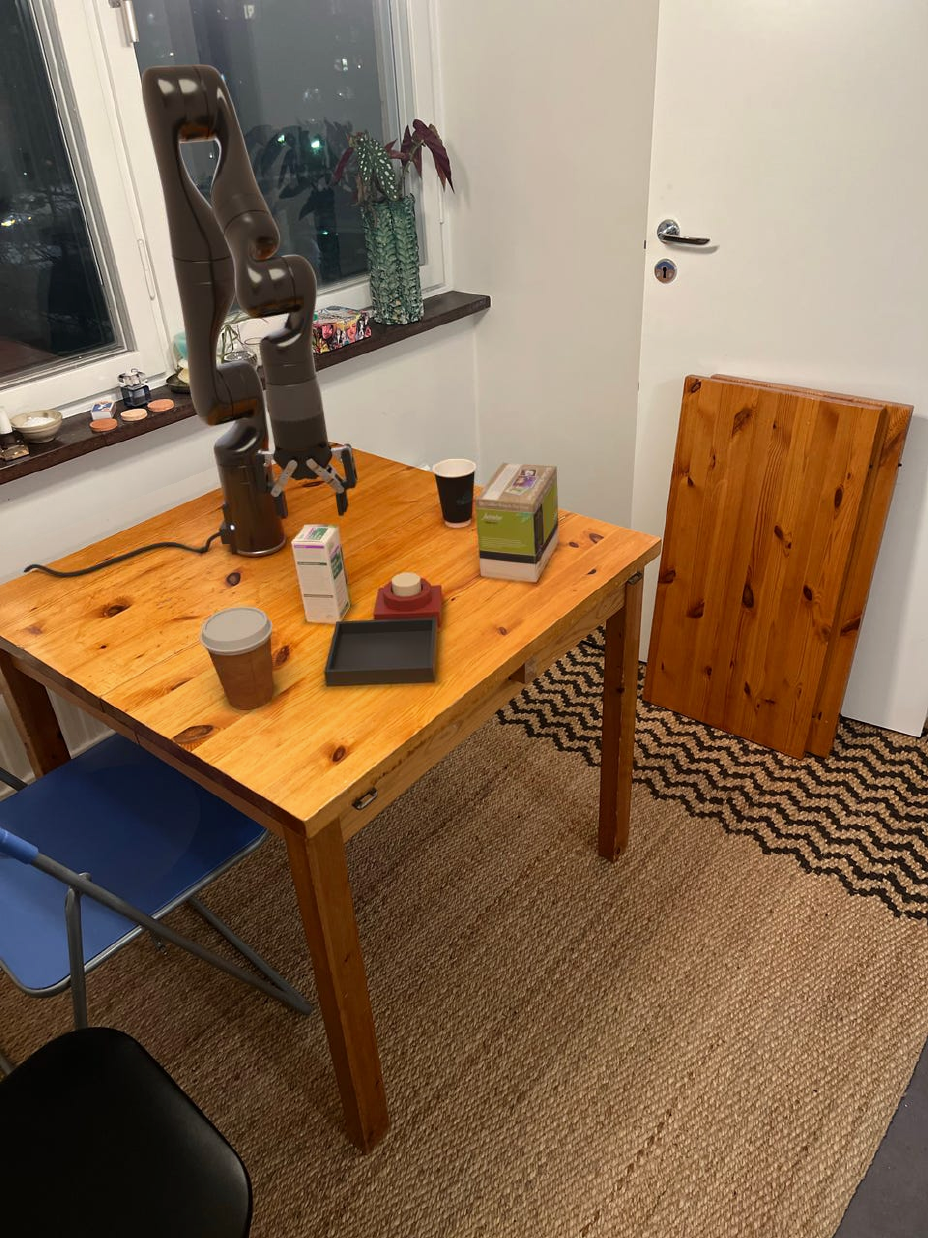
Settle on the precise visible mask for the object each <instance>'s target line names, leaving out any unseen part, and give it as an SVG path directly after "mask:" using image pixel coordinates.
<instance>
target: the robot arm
mask: <svg viewBox="0 0 928 1238" xmlns="http://www.w3.org/2000/svg"><path fill="white" fill-rule="evenodd" d="M141 96H142V103H143V108H144V114H145V118H146V124H147V128H148V133H149V137H150V142H151V147H152V151H153V155H154V159H155V164H156V168H157V172H158V177H159V181H160V182H159V183H160V186H161V191H162V197H163V198H162V199H163V202H164V203H163V204H164V210H165V216H166V222H167V231H168V237H169V245H170V253H171V259H172V266H173V272H174V277H175V281H176V282H175V283H176V288H177V293H178V297H179V302H180V303H179V304H180V309H181V314H182V321H183V327H184V335H185V336H184V337H185V343H186V344H185V345H186V347H185V348H186V358H187V359H186V360H187V371H188V382H189V383H188V384H189V389H190V396H191V400H192V404H193V407H194V410H195V412H196V415H197V416H198V418H199V420H200V421H201V422H202V423H203V424H204V425H207V426H209V427H217V426H221V425H224V424H228V423H232V422H234V423H233V424H232V426H231V427H230V429H229V430H228V431H227V432H226V433H225V434H223V435H222V436H221V437H219V438H218V439H217V440H216V442H214V444H213V455H214V458H215V463H216V468H217V473H218V478H219V482H220V487H221V491H222V497H223V503H222V504H221V509H222V514H223V521H222V522H221V524H220V526H219V528H218V532H216V533H214V534H212V535H210V537H208V539H207V540H206V542H205V546H204V547H201V548H198V549H197V548H192V547H190V546H187V545H183V544H181V543H179V542H173V541H164V542H162V541H161V542H156V543H153V544H149V545H145V546H143V547H140V548H138V549H135V550H133V551H129V552H128V553H125V554H122V555H119V556H116V557H113V558H110V559H107V560H105V561H102V562H100V563H97V564H94V565H92V566H89V567H86V568H83V569H79V570H75V571H69V572H67V571H66V572H65V571H58V570H54V569H51V568H50V567H47V566H44V565H41V564H38V563H32V564H29V565H28V566H26V568H24V570H23V573H26V574H27V573H29V572H30V571H31V570H33V569H38V570H41V571H44V572H46V573H48V574H50V575H53V576H56V577H57V576H58V577H74V576H79V575H83V574H84V575H85V574H86V573H89V572H93V571H95V570H97V569H100V568H103V567H106V566H108V565H111V564H114V563H115V562H119V561H122V560H125V559H128V558H131V557H133V556H135V555H138V554H141V553H143V552H146V551H149V550H151V549H156V548H160V547H174V548H175V547H176V548H179V549H182V550H186V551H189V552H194V553H198V554H199V553H200V554H201V553H205V552H207V551H208V550H209V549H210V546H211V543H212V541H214V540H215V539H216V538H218V537H220V541H221V545H229V546H230V551H231V554H232V555H238V556H239V555H240V556H242V557H249V558H259V557H263V556H269V555H272V554H274V553H276V552H278V551H280V550H282V549H283V548H284V547H285V545H286V544H287V538H286V534H285V530H284V525H283V524H284V523H283V520H287V519H288V517H289V508H288V503H287V496H286V492H285V490H283V489H284V487H286V485H287V484H288V481H289V480H290V479H293V480H294V481H302V480H305V479H306V480H310V481H311V480H313V481H314V480H317V479H318V478H320V479H321V480H322V481H323V482H324V483H325V484H327V485H329V486H330V487H331V488H332V489H333V490H334V491H335V502H336V507H337V515H338V516H339V517H344V516H345V514H346V513H347V511H348V509H349V498H348V490H350V489H355V488H356V485H357V483H358V473H357V472H358V471H357V468H356V463H355V457H354V453H353V447H352V445H351V444H350V443H344V444H343V446H338V447H332V446H331V445H330V443H329V438H328V432H327V425H326V418H325V412H324V405H323V398H322V392H321V387H320V384H319V381H318V376H317V370H316V364H315V358H314V350H313V335H314V334H313V333H314V321H315V312H316V305H317V296H318V281H317V277H316V273H315V271H314V269H313V266H312V265H311V263H310V262H309V261H308V259H306V258H305V257H303V256H302V255H300V254H287V255H279V256H275V257H272V256H273V255H275V253H276V252H277V251H278V249H279V247H280V243H281V234H280V231H279V228H278V226H277V224H276V222H275V219H274V218H273V215H272V213H271V211H270V208H269V206H268V204H267V202H266V200H265V198H264V196H263V194H262V192H261V189H260V187H259V185H258V182H257V180H256V177H255V174H254V171H253V168H252V167H253V166H252V164H251V160H250V157H249V154H248V149H247V146H246V143H245V139H244V136H243V132H242V130H241V125H240V123H239V120H238V117H237V113H236V109H235V107H234V103H233V101H232V97H231V95H230V92H229V89H228V86H227V85H226V82H225V80H224V79H223V77H222V75H221V73H220V72H219V71H218V70H217V68H216V67H214V66H211V65H208V64H182V65H158V66H157V65H156V66H149V67H147V68H146V69H144V71H143V72H142V77H141ZM208 141H215V142H216V143H217V145H218V147H219V156H218V161H217V165H216V168H215V170H214V174H213V176H212V177H213V178H212V181H211V186H210V193H209V198H210V204H209V202H208V201H207V200H206V199H205V197H204V196H203V194H202V193H201V192H200V190H199V189H198V187H197V186H196V184H195V183H194V181H193V180H192V178H191V176H190V173H189V172H188V169H187V167H186V164H185V162H184V159H183V155H182V150H181V144H182V143H183V144H186V143H200V142H208ZM235 300H236V302H237V305H238V306H239V308H240V309H241V311H242V312H243V313H244V314H246V315H247V316H248V317H250V318H253V319H259V320H261V319H268V318H272V317H278V316H282V315H287V318H286V320H285V322H284V324H283V325H282V326H280V327H279V328H277V329H276V330H274V331H272V332H270V333H268V334H266V335H264V336H263V337H262V338H261V339H260V340H259V344H258V347H259V349H258V350H259V356H260V361H261V367H262V373H263V378H264V384H265V385H264V386H265V393H264V389H263V384H262V381H261V379H260V376H259V373H258V371H257V370H256V368H255V366H254V365H253V364H252V363H251V362H249V361H248V360H245V359H237V360H232V361H229V362H224V363H220V364H217V362H218V361H217V355H218V354H217V351H218V344H219V339H220V335H221V332H222V330H223V327H224V325H225V322H226V321H227V317H228V316H229V314H230V311H231V309H232V306H233V303H234V301H235ZM264 394H265V395H264ZM265 398H266V399H265ZM265 401H266V402H265ZM266 410H267V411H266ZM267 413H268V416H269V422H270V428H271V433H272V439H273V444H274V451H271V450H270V446H269V444H270V443H269V442H270V434H269V427H268V419H267ZM333 457H334V458H336V459H337V461H338V462H339V463H341V464H342V465H343V470H344V474H345V475H344V476H345V478H343V477H342V476H341V475H340V474H339V473H338V471H337V469H336V468H335V467H334V466H333V465H332V464H331V460H332V458H333ZM272 461H274V463H276V464H277V465H278V467H279V468H280V469H282V471H281V472H280V475H279V476H278V478H277V480H276V479H275V473H274V468H273V464H272Z"/></svg>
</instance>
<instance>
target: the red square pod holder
mask: <svg viewBox="0 0 928 1238" xmlns="http://www.w3.org/2000/svg"><path fill="white" fill-rule="evenodd" d="M420 580H421V592H419V593H418V594H416V595H412V596H404V597H401V596H397V595H395V594H394V593H393V588H392V579H391V580H390V581H388V583H386V584H385V585H384V586H383V587H378V589H377V594H376V600H375V604H374V612H373V620H381V619H404V618H428V617H437V626H438V629H441V628H442V616H443V615H442V614H443V591H442V585H441V584H437V585H436V584H435V585H432V583H430V581H428V580H427V579H426V578H423V577H420Z"/></svg>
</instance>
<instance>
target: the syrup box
mask: <svg viewBox="0 0 928 1238" xmlns="http://www.w3.org/2000/svg"><path fill="white" fill-rule="evenodd" d="M290 545H291V548H292V549H291V550H292V554H293V560H294V564H295V569H296V574H297V575H296V576H297V579H298V586H299V589H300V595H301V599H302V606H303V610H304V615H305V619H306V622H308V623H315V624H316V623H318V624H331V625H332V624H333V625H336V622H337V621H343V620H344V618H345V616H346V615H347V613H348V611H349V610H350V608H351V606H352V600H351V594H350V589H349V582H348V575H347V570H346V564H345V557H344V553H343V552H344V551H343V547H342V541H341V534H340V527H339V525H335V524H325V523H324V524H323V523H321V524H320V523H319V524H317V523H315V524H314V523H313V524H304V525H303V527H302V529H300V531H298V533H297V534H296V535H295V537H294V538H293V539H292V540H291V542H290Z"/></svg>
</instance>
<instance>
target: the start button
mask: <svg viewBox="0 0 928 1238" xmlns="http://www.w3.org/2000/svg"><path fill="white" fill-rule="evenodd" d="M420 578H421V576H420V575H419V574H417V573H414V572H401V573H398V574H395V575H394V576H393V577H391V580H392V588H393V593H394V594H395V595H397V596H401V597H404V596H412V595H416V594H418V593H419V592H421V580H420Z"/></svg>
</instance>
